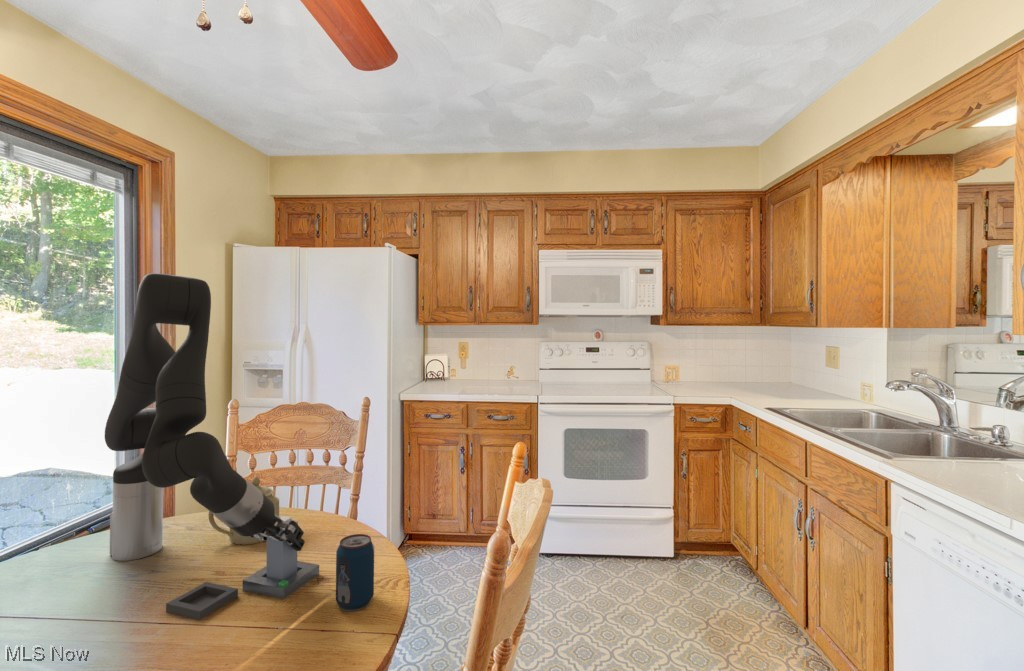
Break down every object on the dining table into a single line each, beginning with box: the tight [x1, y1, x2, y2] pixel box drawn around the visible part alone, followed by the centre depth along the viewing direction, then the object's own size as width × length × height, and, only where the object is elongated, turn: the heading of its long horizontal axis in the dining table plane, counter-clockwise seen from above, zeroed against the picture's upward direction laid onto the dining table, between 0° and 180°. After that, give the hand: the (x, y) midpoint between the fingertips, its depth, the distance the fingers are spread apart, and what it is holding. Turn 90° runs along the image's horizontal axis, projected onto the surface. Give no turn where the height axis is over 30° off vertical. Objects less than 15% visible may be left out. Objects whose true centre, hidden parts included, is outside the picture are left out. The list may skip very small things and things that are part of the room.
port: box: [241, 560, 320, 600], centre depth 97 cm, size 10×10×3 cm
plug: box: [266, 515, 299, 581], centre depth 97 cm, size 4×4×13 cm
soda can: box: [335, 533, 375, 612], centre depth 91 cm, size 7×7×12 cm
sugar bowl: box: [207, 476, 280, 545], centre depth 118 cm, size 15×11×15 cm
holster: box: [165, 581, 239, 621], centre depth 89 cm, size 8×8×2 cm
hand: (289, 544), depth 99 cm, fingers open, 5 cm apart
